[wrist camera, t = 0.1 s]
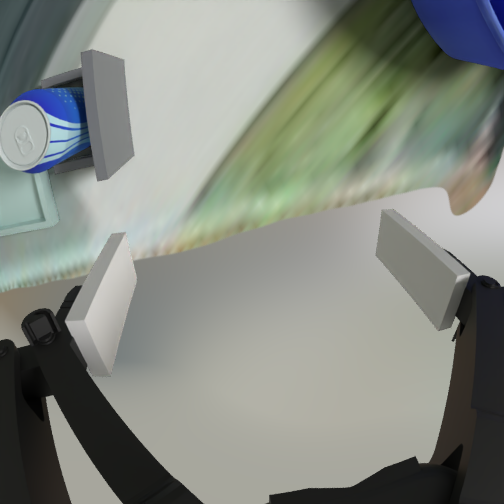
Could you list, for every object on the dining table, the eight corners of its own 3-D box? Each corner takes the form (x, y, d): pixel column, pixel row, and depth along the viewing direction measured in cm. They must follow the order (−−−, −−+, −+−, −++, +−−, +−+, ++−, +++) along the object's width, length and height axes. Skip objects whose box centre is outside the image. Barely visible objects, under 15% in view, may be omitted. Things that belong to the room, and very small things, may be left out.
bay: (49, 80, 32) (1, 82, 21) (123, 59, 33) (92, 49, 22) (62, 169, 38) (20, 197, 27) (134, 155, 39) (108, 179, 28)
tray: (-25, 152, 33) (-33, 156, 31) (40, 129, 35) (31, 132, 32) (-4, 232, 40) (-11, 238, 38) (59, 219, 41) (53, 226, 39)
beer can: (50, 141, 36) (-16, 171, 22) (64, 82, 32) (-3, 86, 18) (101, 153, 38) (49, 189, 24) (118, 93, 35) (67, 97, 21)
